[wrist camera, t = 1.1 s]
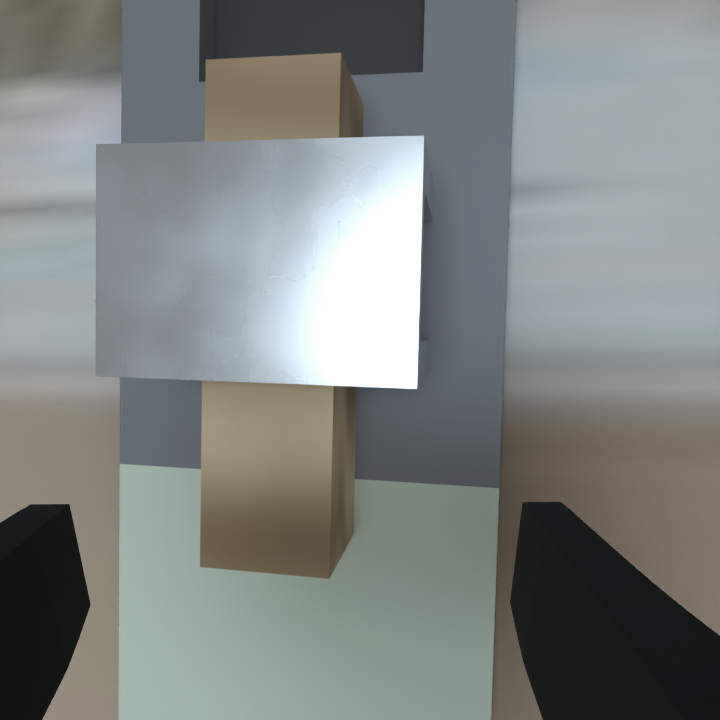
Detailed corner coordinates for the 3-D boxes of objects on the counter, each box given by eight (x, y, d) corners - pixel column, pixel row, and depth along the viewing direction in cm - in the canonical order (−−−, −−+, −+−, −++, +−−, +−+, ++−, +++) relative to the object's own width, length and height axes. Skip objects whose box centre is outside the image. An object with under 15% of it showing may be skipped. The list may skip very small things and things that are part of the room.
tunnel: (428, 374, 21) (417, 389, 16) (183, 365, 23) (95, 376, 17) (434, 186, 21) (424, 135, 16) (184, 189, 22) (96, 144, 17)
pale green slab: (482, 897, 23) (483, 935, 22) (138, 838, 26) (118, 870, 24) (519, -150, 22) (523, -186, 20) (143, -113, 24) (122, -142, 22)
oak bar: (353, 534, 22) (329, 578, 18) (245, 526, 23) (199, 567, 19) (363, 104, 21) (341, 52, 17) (252, 108, 22) (205, 59, 18)
